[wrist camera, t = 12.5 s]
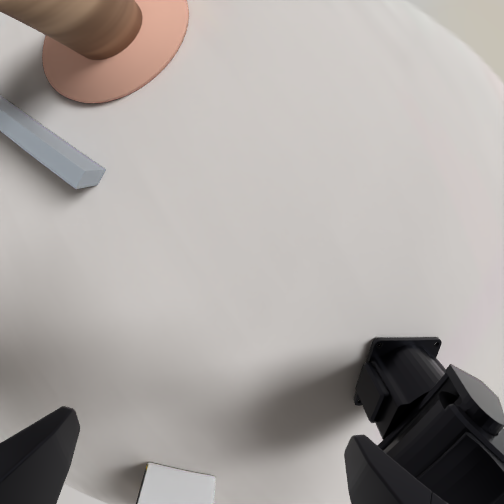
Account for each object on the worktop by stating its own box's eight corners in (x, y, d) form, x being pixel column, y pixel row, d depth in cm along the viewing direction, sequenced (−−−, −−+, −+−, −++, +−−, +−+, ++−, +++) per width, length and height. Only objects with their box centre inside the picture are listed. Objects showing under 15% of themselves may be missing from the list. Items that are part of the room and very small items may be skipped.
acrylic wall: (106, 169, 19) (84, 170, 16) (97, 185, 19) (75, 189, 16) (-7, 90, 16) (-30, 86, 14) (-13, 103, 17) (-37, 100, 14)
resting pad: (223, 24, 16) (222, 20, 16) (94, 136, 18) (90, 135, 18) (133, -49, 14) (131, -53, 13) (26, 48, 16) (22, 46, 15)
